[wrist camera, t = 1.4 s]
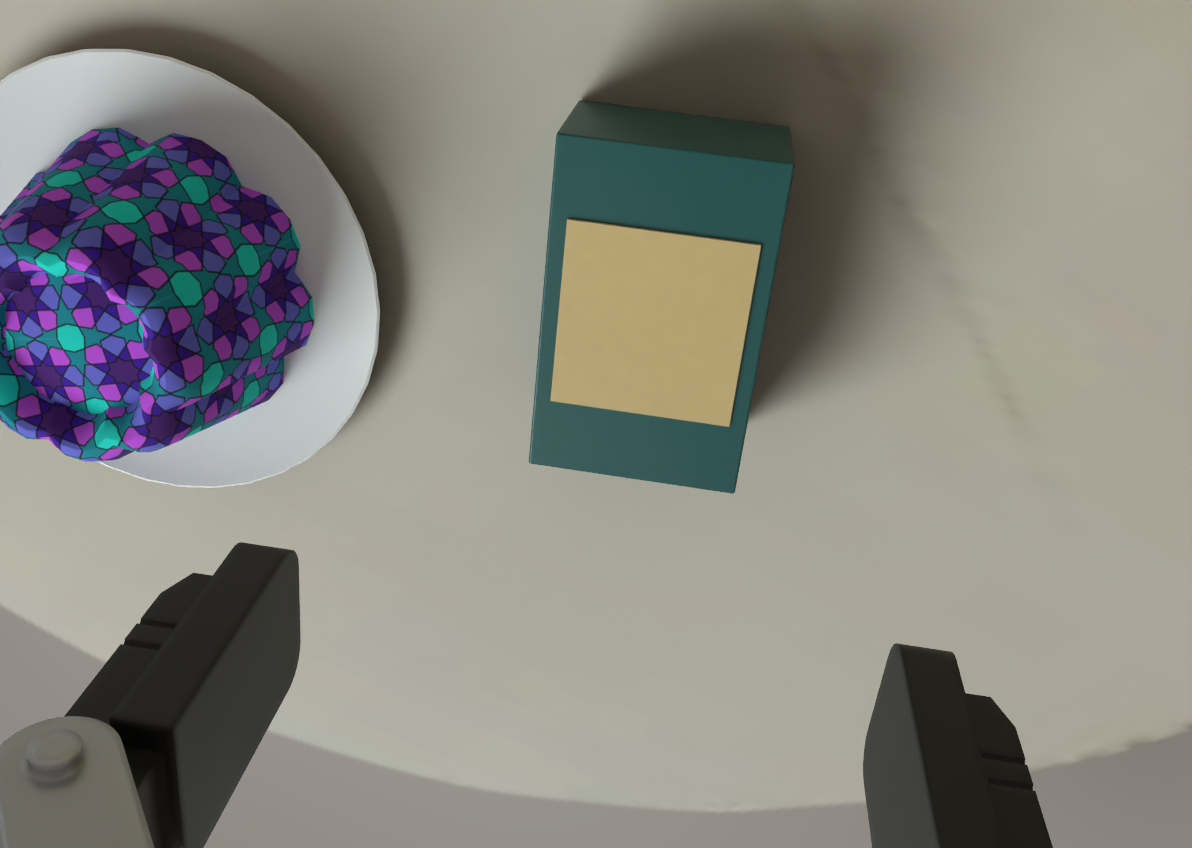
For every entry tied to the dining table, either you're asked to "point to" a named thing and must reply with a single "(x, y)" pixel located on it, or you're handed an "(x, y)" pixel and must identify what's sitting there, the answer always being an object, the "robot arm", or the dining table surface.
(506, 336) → the dining table surface
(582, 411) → the packet
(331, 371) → the pudding
